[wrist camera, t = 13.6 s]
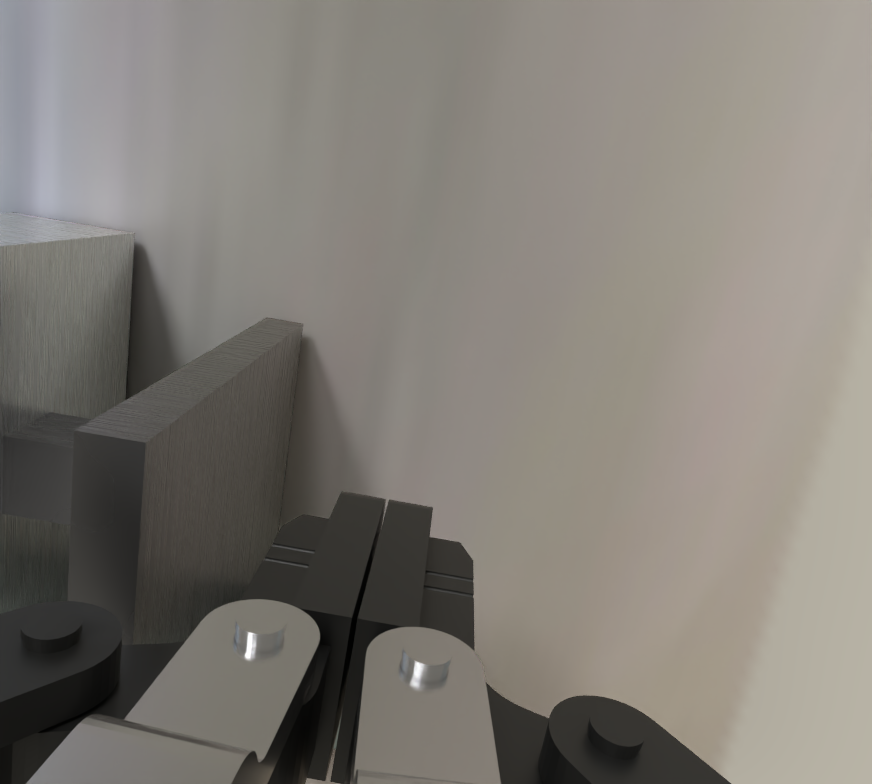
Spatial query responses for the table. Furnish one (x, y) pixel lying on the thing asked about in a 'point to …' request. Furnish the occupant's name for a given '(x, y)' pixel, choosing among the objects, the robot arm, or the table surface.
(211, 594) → the sliding jaw
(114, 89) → the table surface
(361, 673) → the robot arm
